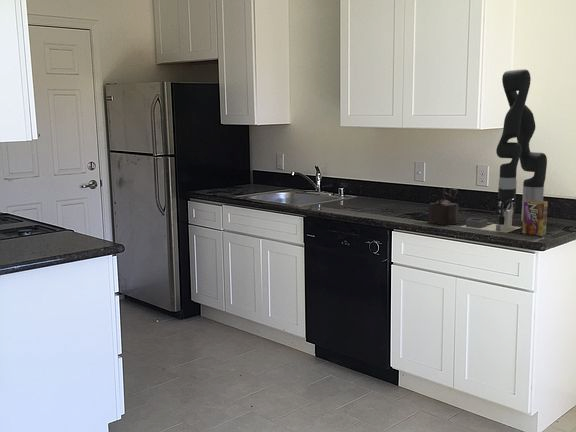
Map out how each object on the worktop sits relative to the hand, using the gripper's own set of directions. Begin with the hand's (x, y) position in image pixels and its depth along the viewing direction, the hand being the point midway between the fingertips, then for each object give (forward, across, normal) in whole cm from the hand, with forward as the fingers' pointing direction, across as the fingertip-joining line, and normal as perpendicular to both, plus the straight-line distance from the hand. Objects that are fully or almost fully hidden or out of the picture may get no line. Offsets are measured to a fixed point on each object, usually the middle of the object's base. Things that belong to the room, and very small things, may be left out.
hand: (505, 223), depth 292 cm
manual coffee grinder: (+3, +2, -28) cm, 28 cm away
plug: (+2, 0, 0) cm, 2 cm away
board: (+3, +2, -6) cm, 7 cm away
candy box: (+3, +5, +15) cm, 16 cm away
